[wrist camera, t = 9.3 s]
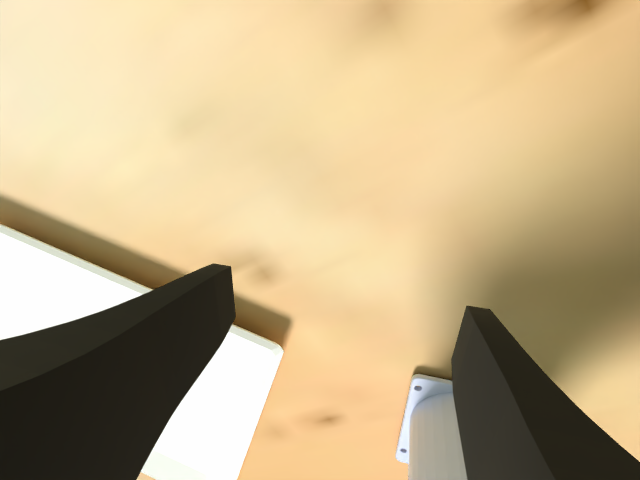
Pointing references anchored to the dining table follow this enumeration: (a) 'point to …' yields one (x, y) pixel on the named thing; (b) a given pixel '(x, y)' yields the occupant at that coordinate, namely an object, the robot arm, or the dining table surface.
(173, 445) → the plate
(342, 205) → the dining table surface
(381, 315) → the dining table surface
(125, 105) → the dining table surface
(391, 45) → the dining table surface
